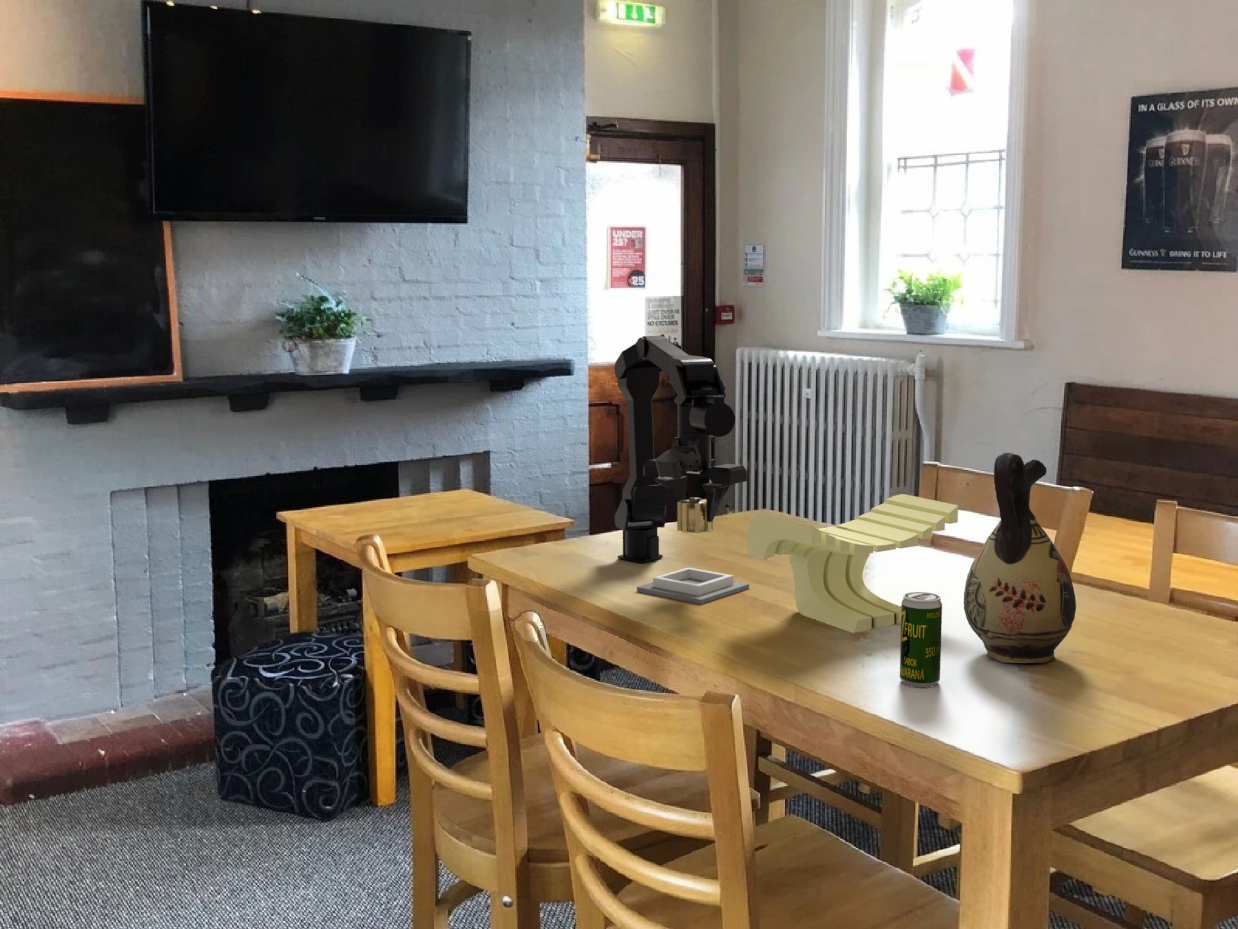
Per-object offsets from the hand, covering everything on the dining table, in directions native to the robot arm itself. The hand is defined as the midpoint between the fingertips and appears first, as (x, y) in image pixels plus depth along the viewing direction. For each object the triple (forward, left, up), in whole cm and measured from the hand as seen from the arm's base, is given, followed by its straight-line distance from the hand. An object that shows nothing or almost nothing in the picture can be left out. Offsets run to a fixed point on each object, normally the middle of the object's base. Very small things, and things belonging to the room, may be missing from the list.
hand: (694, 519), depth 228 cm
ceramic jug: (+61, -3, -12) cm, 62 cm away
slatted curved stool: (+31, +2, -12) cm, 33 cm away
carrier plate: (+1, -1, -12) cm, 12 cm away
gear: (0, 0, -2) cm, 2 cm away
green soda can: (+56, -22, -12) cm, 61 cm away
